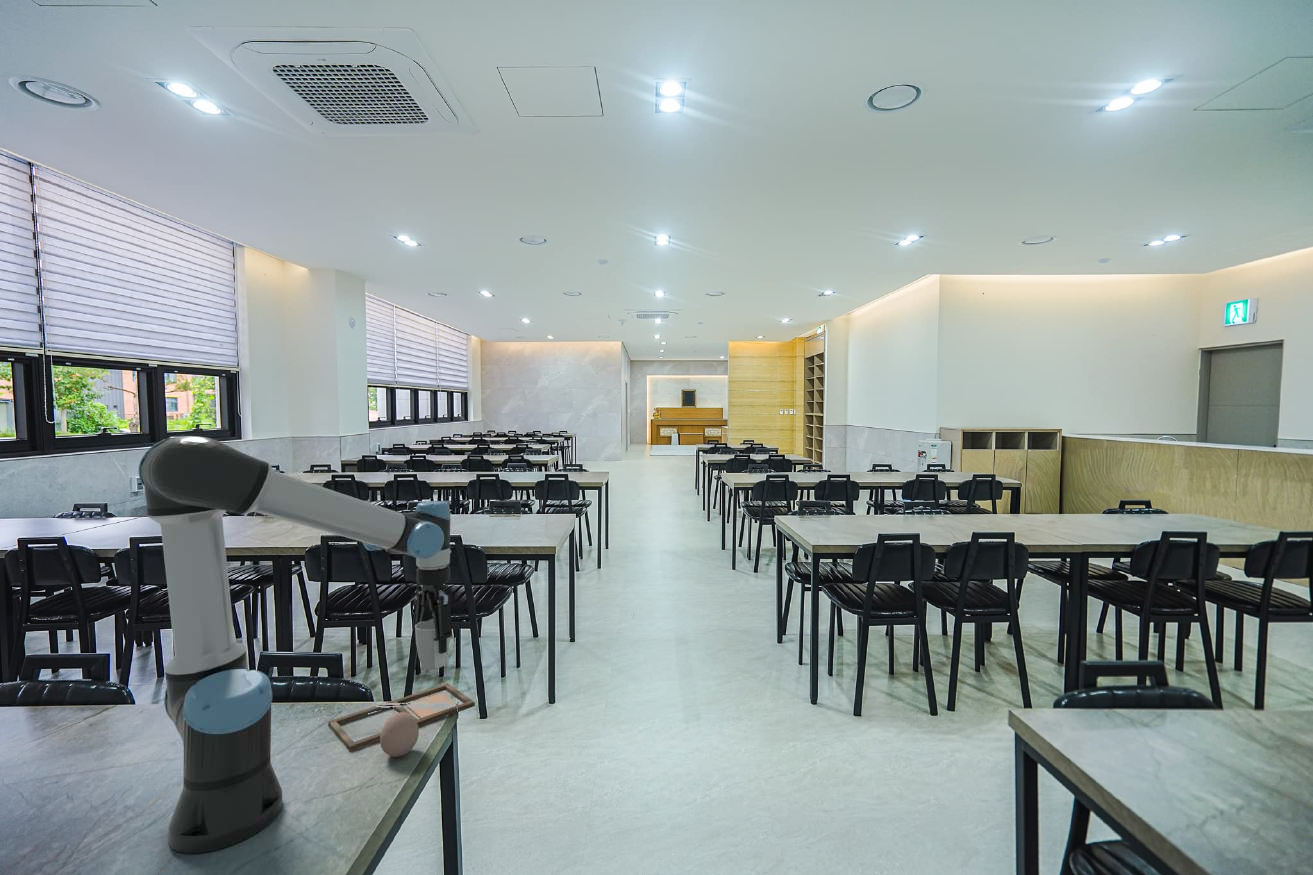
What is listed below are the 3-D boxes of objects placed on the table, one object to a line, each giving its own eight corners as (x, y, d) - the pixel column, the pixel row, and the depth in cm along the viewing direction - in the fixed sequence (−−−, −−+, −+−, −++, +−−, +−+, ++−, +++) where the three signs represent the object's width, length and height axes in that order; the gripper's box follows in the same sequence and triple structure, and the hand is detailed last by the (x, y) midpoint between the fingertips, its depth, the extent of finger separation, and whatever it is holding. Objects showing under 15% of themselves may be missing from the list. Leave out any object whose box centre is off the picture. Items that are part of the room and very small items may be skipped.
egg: (417, 760, 112) (417, 719, 112) (377, 767, 109) (378, 725, 109) (419, 742, 118) (419, 703, 118) (382, 748, 116) (382, 708, 116)
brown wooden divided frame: (474, 706, 134) (474, 701, 134) (349, 751, 115) (349, 746, 115) (447, 686, 145) (447, 683, 145) (328, 725, 125) (328, 721, 125)
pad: (458, 706, 134) (458, 704, 134) (421, 719, 128) (421, 717, 128) (442, 693, 141) (442, 692, 141) (405, 705, 134) (405, 704, 134)
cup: (458, 663, 136) (458, 622, 136) (428, 675, 129) (429, 632, 129) (437, 656, 140) (437, 616, 140) (407, 667, 133) (407, 625, 133)
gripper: (468, 570, 130) (468, 668, 130) (430, 557, 144) (430, 645, 144) (436, 576, 125) (436, 678, 125) (400, 561, 139) (400, 653, 139)
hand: (433, 660), depth 134 cm, fingers closed on cup, 8 cm apart
